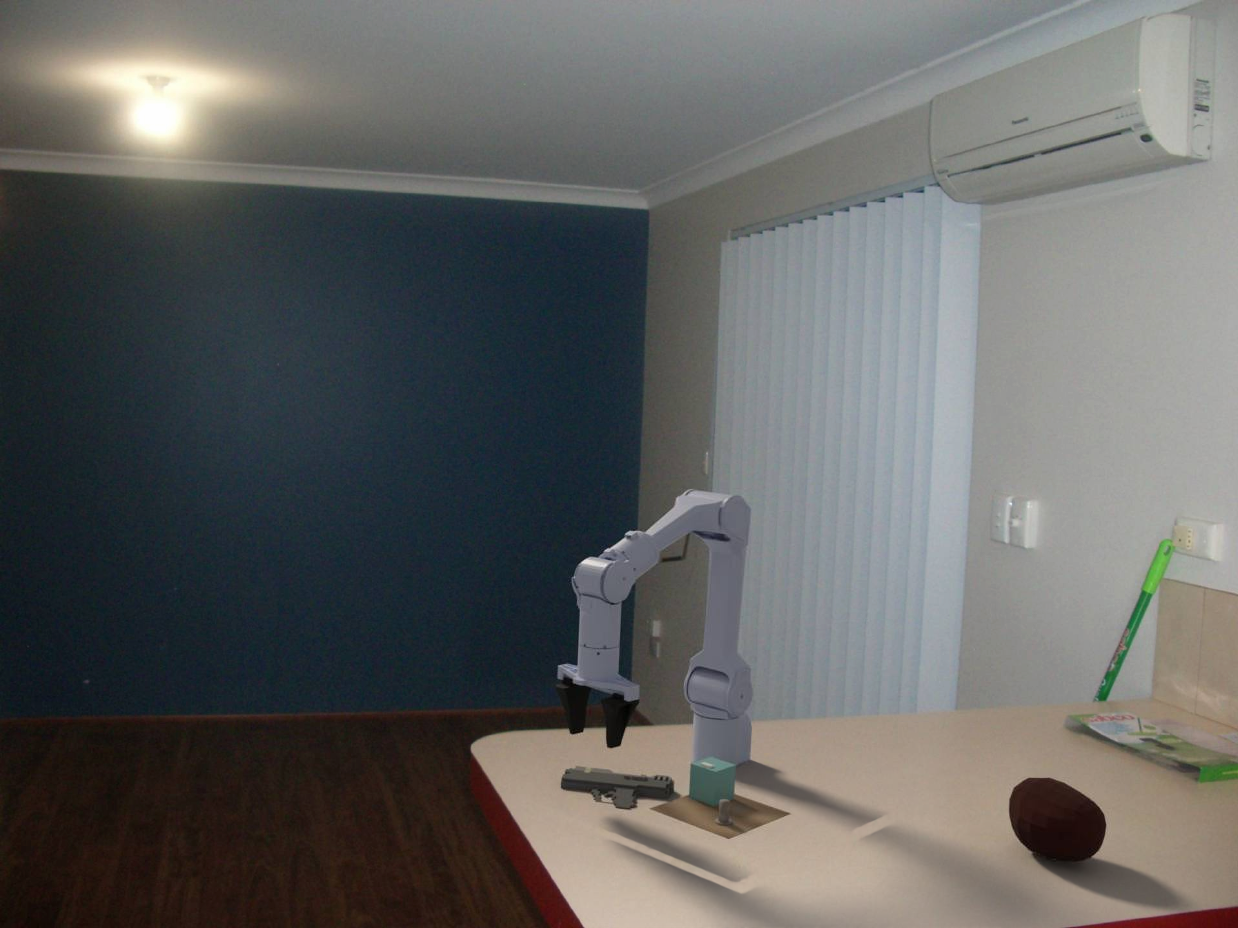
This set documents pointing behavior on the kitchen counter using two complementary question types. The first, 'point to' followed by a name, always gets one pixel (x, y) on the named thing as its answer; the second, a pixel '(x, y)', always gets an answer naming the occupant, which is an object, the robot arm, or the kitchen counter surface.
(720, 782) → the teal cube
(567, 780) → the toy gun
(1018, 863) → the kitchen counter surface
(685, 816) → the board
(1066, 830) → the potato
